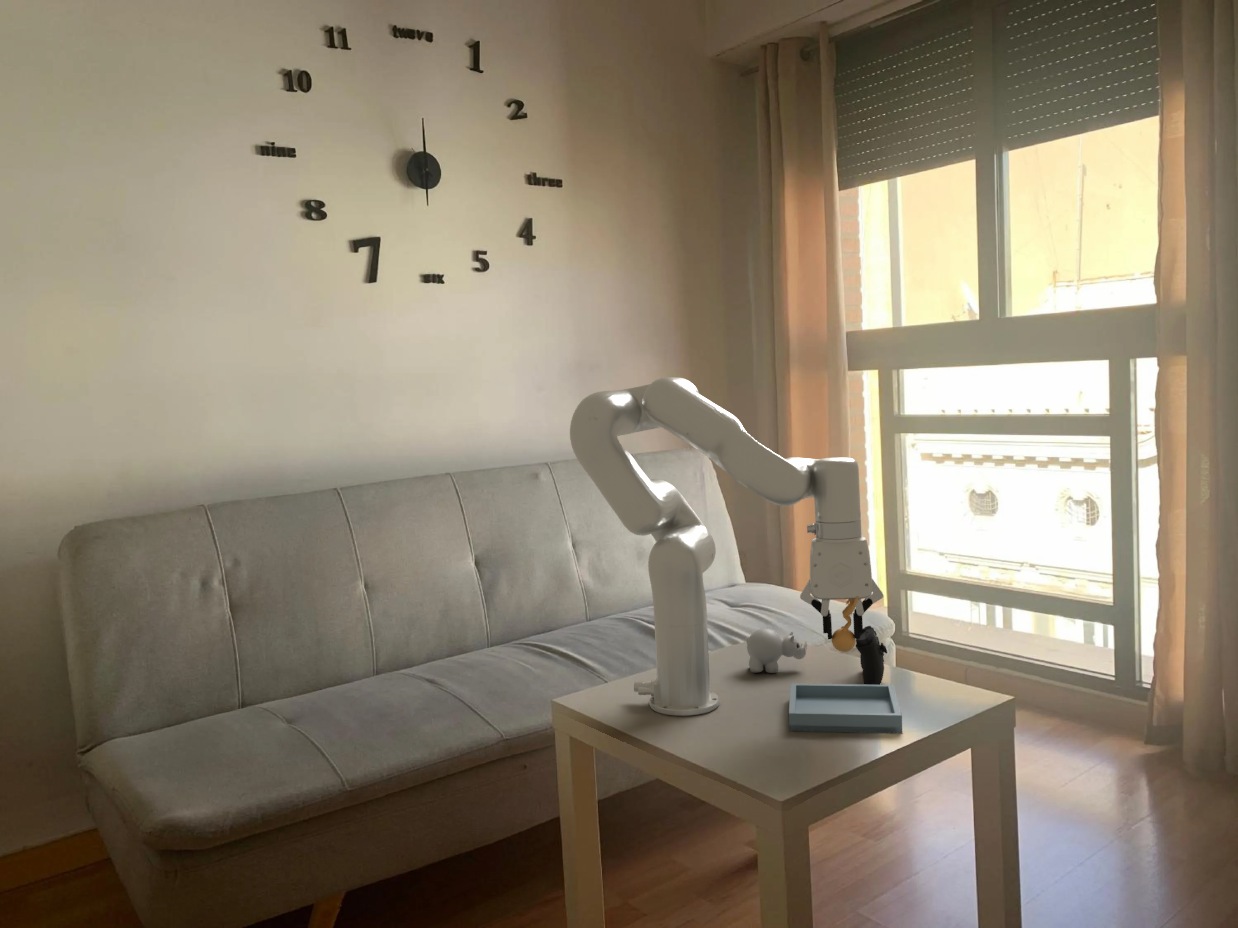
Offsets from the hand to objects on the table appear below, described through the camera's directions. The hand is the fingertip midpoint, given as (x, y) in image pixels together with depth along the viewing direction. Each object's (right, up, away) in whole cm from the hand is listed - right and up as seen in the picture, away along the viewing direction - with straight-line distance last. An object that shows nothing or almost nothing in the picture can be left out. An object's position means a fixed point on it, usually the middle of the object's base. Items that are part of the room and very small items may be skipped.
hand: (843, 636), depth 165 cm
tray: (0, -14, +1) cm, 14 cm away
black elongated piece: (+10, -12, +20) cm, 25 cm away
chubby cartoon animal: (-6, -12, +29) cm, 32 cm away
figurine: (+1, -3, 0) cm, 3 cm away
